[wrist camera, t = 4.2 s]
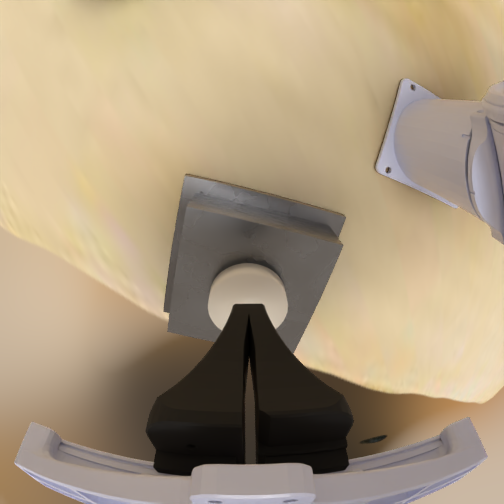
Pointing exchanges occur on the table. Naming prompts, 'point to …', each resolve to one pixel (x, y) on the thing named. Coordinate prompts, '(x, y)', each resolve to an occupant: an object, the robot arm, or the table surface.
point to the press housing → (247, 252)
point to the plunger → (247, 292)
